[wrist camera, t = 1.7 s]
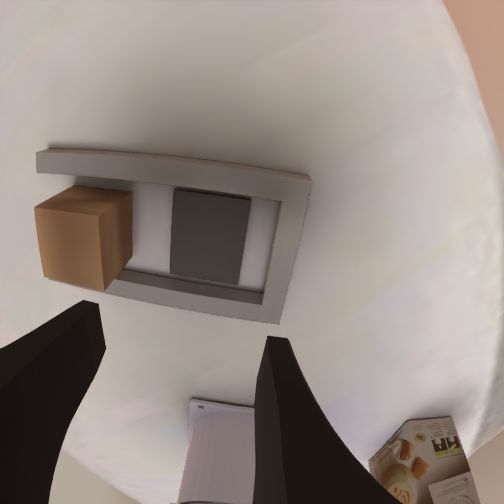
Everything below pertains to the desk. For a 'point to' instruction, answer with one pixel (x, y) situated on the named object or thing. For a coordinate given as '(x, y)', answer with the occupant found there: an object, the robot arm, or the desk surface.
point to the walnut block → (85, 235)
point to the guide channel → (209, 178)
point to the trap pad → (208, 235)
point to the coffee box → (425, 465)
